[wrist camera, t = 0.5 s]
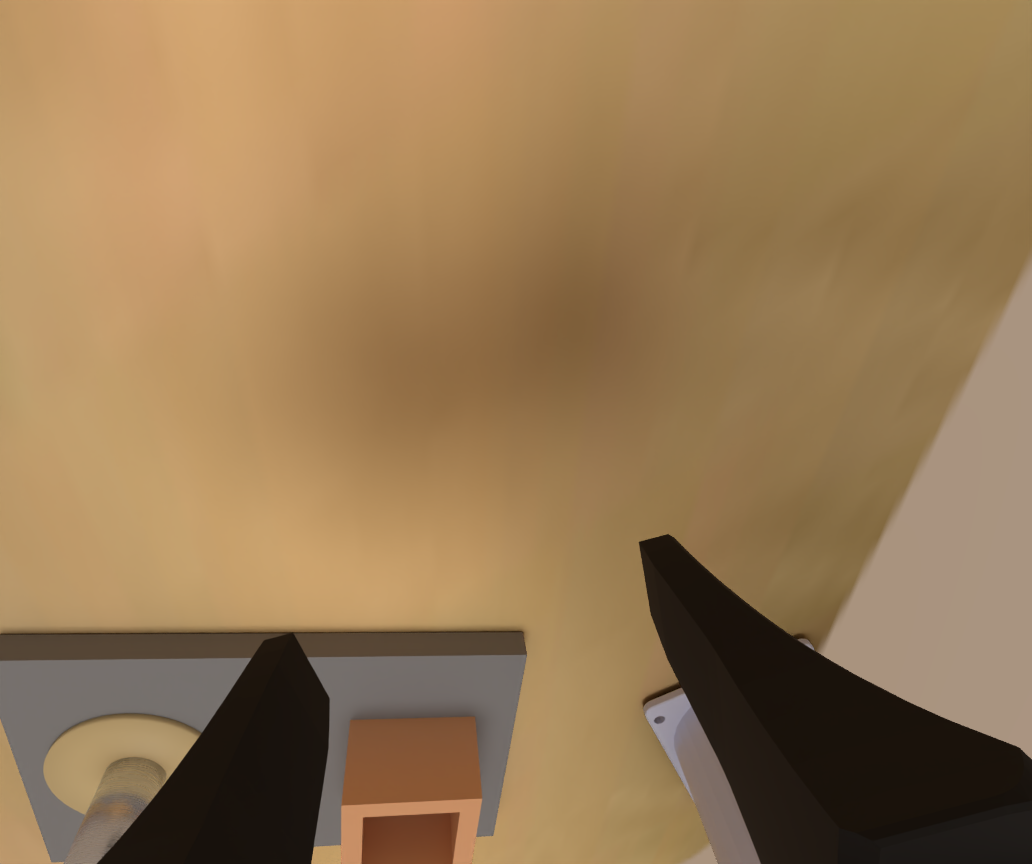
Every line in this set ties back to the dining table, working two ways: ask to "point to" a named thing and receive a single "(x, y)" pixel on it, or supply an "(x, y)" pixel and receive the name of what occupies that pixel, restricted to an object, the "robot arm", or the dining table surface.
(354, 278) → the dining table surface
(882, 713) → the robot arm
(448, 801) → the collar
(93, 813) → the steel post
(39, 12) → the dining table surface
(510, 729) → the seat plate
